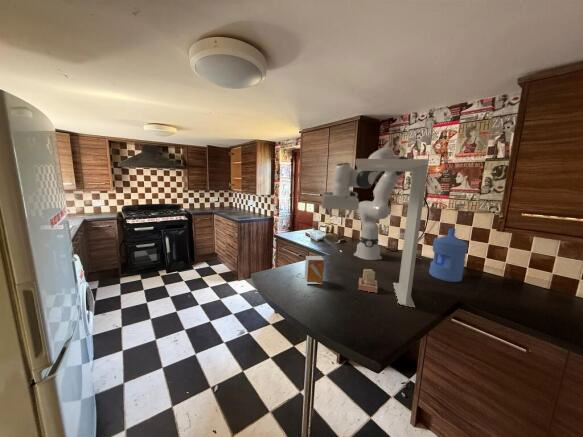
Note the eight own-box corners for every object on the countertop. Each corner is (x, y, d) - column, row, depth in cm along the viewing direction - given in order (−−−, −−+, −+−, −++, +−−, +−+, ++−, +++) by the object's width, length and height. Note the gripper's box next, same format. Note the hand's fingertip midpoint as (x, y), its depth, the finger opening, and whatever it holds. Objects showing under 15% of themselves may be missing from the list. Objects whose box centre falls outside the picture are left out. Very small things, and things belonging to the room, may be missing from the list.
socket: (358, 283, 116) (359, 277, 115) (376, 286, 113) (376, 280, 113) (358, 290, 108) (358, 284, 107) (376, 293, 105) (377, 287, 105)
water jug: (451, 272, 136) (458, 226, 132) (468, 283, 121) (477, 232, 117) (423, 270, 138) (430, 225, 134) (437, 281, 122) (445, 230, 118)
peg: (361, 286, 112) (363, 269, 111) (369, 286, 113) (371, 269, 111) (365, 290, 108) (367, 272, 107) (373, 290, 109) (375, 272, 107)
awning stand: (348, 277, 123) (357, 163, 114) (406, 286, 114) (421, 164, 105) (344, 295, 102) (355, 158, 93) (414, 308, 93) (434, 159, 84)
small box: (306, 285, 111) (308, 259, 109) (304, 279, 117) (305, 255, 115) (322, 285, 112) (324, 259, 110) (319, 279, 118) (321, 255, 116)
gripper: (322, 192, 124) (320, 217, 126) (360, 193, 122) (358, 219, 124) (321, 191, 130) (320, 215, 132) (358, 193, 128) (356, 217, 130)
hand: (339, 217), depth 128 cm, fingers open, 8 cm apart
